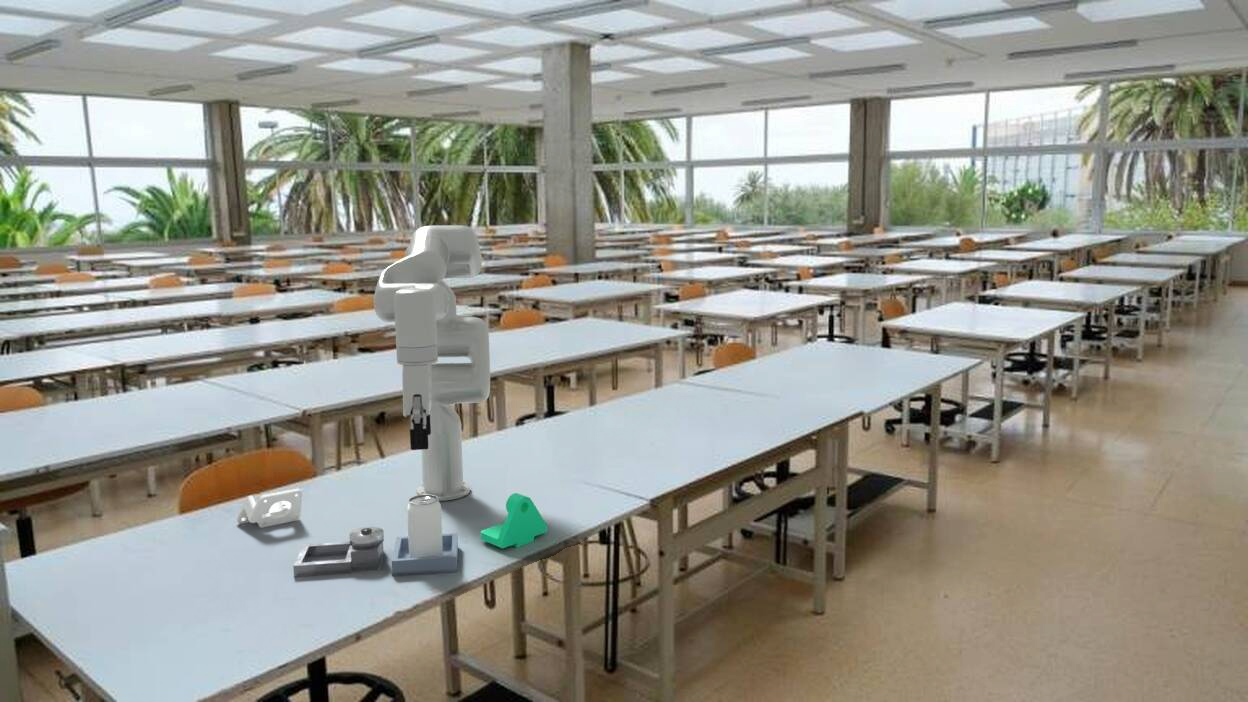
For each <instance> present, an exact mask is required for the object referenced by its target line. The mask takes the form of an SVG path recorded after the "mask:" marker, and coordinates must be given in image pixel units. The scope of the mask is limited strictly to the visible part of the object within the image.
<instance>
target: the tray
mask: <svg viewBox="0 0 1248 702" xmlns="http://www.w3.org/2000/svg"><path fill="white" fill-rule="evenodd" d="M458 537H459V535H458V532H455V533H450V532H449V533H442V543H443V555H442V556H429V557H415V558H409V542H408V535H407V536H396V539H395V544H394V549H393V553H392V556H391V576H392V577H400V576H401V577H403V576H414V575H427V574H442V573H455V572H458V557H459V556H458V555H459V542H458V541H459V540H458Z"/></svg>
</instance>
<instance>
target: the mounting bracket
mask: <svg viewBox="0 0 1248 702" xmlns="http://www.w3.org/2000/svg"><path fill="white" fill-rule="evenodd" d="M302 499H303V491H302V489H300V488H298V487H297V488H293V489H287V490H286V489H285V490H282V491H278V492H272V493H265V494H262V495H261V496H260V497H258V499H257V501H256V500H255V498H254V495H248V496H247V497H246V499H245V501H244V503H243V505H242V506H241V508H240V510H239V512H238V513H237V516H236V521H237V523H238V524H240V525H241V524H248V523H251V524H256V523H257V525H258V527H259V528H266V527H270V526H271V527H272V526H276V525H281V524H285V523H290V522H294V521H299V520H300V519H301V513H302V512H301V511H302V501H303V500H302Z"/></svg>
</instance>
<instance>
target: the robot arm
mask: <svg viewBox="0 0 1248 702" xmlns="http://www.w3.org/2000/svg"><path fill="white" fill-rule="evenodd" d="M404 255H405V256H404V258H402V259H400V260H398V261H396V262H395V263H393V264H391V265H389V266H388V267H386V268H385V269H384V270H383V271H382V272H381V273H380V275H379V278H378V280H377V282H376V283H377V284H376V287H375V292H374V295H373V297H374V298H373V307H374V312H375V314H376V316H377V317H378V318H379V319H380V320H381V321H383V322H385V323H394V324H395V325H394V327H395V346H396V351H395V352H396V363H397V364H398V365H401V366H402V371H401V373H402V408H403V409H402V411H403V412H402V414H403V416H404V417H405V418H407V417H408V416H410V428H409V437H410V438H409V440H410V444H409V445H410V450H411V451H418V450H419V451H420V450H421V451H420V452H421V470H422V471H421V472H422V484H421V485H419V486H418V487H417V488H416V496H418V495H435V496H437V497H438V501H439V502H443V501H452V500H457V499H460V498H461V499H462V498H463V497H465V496H467V495H468V494H469V493H470V492H471V491H470V490H471V487H470V484H469V483H468V482H465V481H464V471H463V470H464V467H463V462H464V461H463V441H462V421H461V418H460V416H459V414H458V413H457V412H456V410H454V408H453V407H452V406H451V405H452V404H453V405H454V404H475V403H476V404H478V403H479V404H480V403H483V402H485V401H487V400H488V398H489V396H490V393H491V365H490V364H491V363H490V362H491V361H490V360H491V359H490V338H489V337H490V336H489V328H488V326H487V323H486V321H484V319H482V318H480V317H475V316H465V317H464V316H461V317H460V316H459V317H458V315H457V298H456V294H455V293H454V291H453V290H452V288H451V287H450V286H449V285H448V284H447V283H446V282H445V281H444V280H445V279H467V278H468V279H470V278H472V279H473V278H475V277H477V276H478V275H479V274H480V272H481V269H482V264H483V256H482V251H481V247H480V241H479V238H478V236H477V234H476V233H475V231H474V230H473V229H472V228H470V226H468V225H461V224H459V225H454V224H453V225H452V224H451V225H425V226H422V227H419V228H418V229H416V230H415V231H414V232H413V234H412V235H411V238H410V243H409V245H408V247H407V248H406V250H405V254H404ZM438 358H442V359H443V358H445V359H446V358H467V359H468V360H470V362H439V363H438V361H439V359H438Z"/></svg>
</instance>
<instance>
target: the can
mask: <svg viewBox="0 0 1248 702" xmlns="http://www.w3.org/2000/svg"><path fill="white" fill-rule="evenodd" d="M406 516H407V519H406V520H407V536H408V542H409V558H415V557H429V556H442V555H443V543H442V534H443V526H442V525H443V523H442V505H441V503H440V501H438V497H437V496H435V495H418V496H417V495H414V496H412V497H411V498H409V500H408V505H407V508H406Z"/></svg>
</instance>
